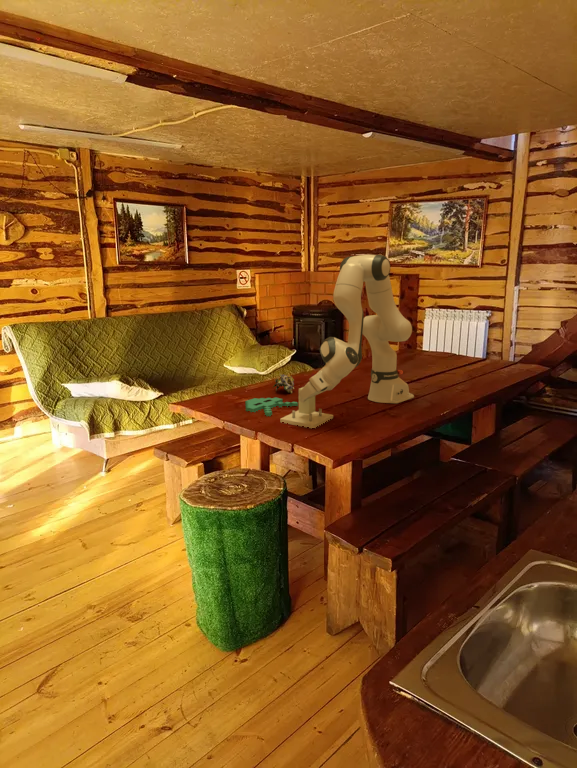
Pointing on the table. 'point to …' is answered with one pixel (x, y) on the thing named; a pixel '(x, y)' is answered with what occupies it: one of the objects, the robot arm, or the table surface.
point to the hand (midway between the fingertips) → (305, 399)
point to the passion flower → (285, 383)
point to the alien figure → (266, 404)
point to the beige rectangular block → (307, 405)
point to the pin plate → (306, 418)
